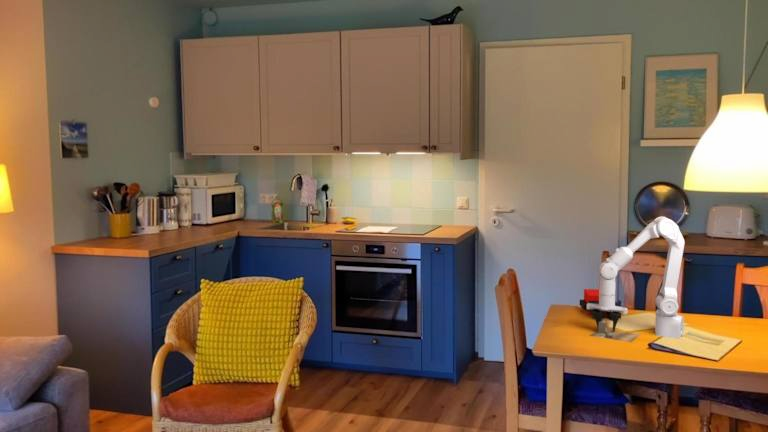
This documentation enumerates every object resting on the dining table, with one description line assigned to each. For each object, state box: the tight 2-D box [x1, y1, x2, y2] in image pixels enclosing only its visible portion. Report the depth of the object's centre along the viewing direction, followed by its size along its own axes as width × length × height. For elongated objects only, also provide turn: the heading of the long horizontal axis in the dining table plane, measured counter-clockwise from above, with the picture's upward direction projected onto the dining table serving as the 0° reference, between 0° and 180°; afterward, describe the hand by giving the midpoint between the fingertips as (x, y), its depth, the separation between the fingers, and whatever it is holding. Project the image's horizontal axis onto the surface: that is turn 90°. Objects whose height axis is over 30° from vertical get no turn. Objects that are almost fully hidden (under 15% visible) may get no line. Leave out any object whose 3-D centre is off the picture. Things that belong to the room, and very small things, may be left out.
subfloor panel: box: [589, 329, 641, 343], centre depth 259 cm, size 15×12×1 cm
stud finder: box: [597, 318, 608, 334], centre depth 262 cm, size 4×6×4 cm, turn 145°
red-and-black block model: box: [579, 288, 622, 320], centre depth 292 cm, size 15×8×25 cm
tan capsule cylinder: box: [604, 319, 613, 339], centre depth 255 cm, size 3×3×6 cm
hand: (606, 330), depth 263 cm, fingers open, 4 cm apart
